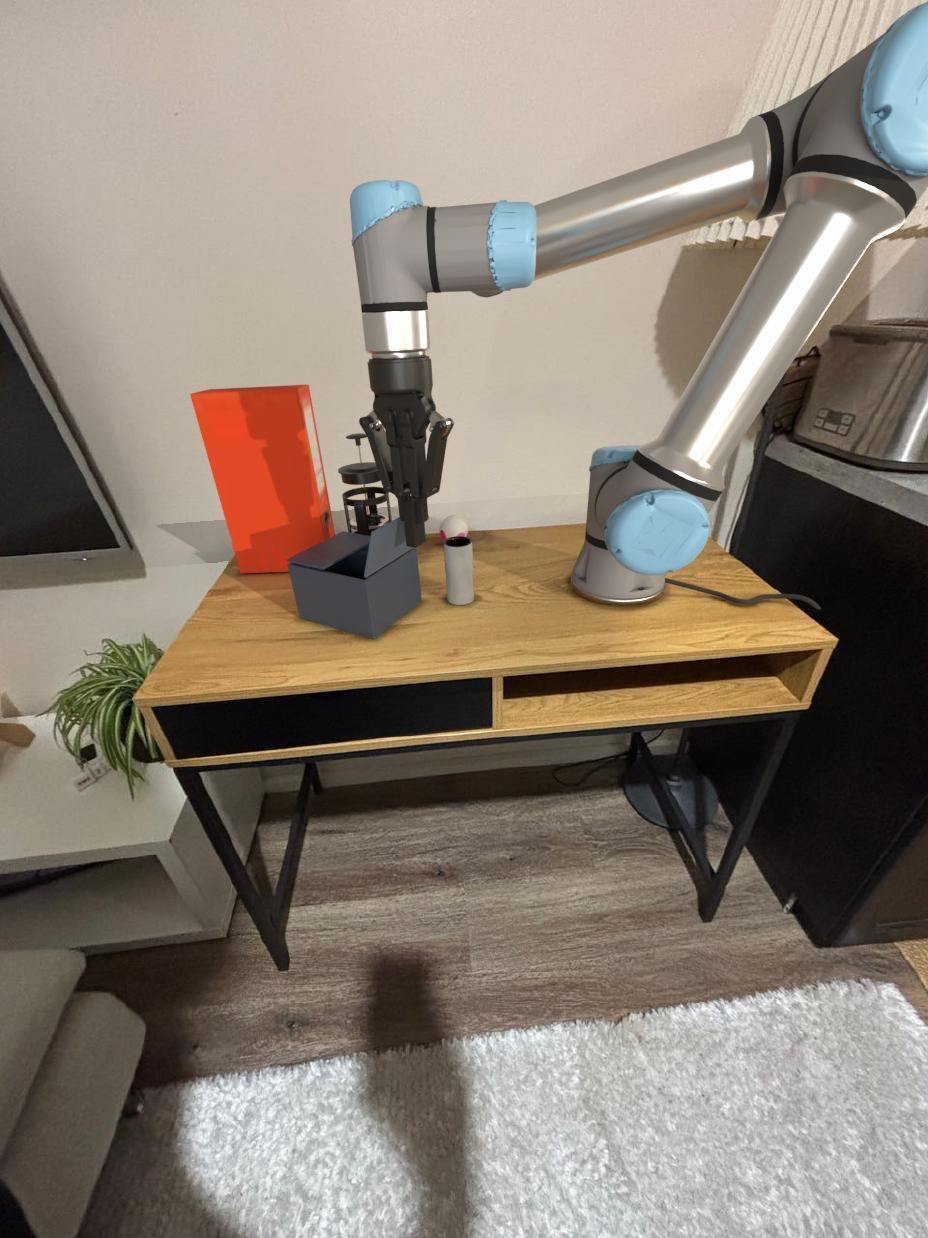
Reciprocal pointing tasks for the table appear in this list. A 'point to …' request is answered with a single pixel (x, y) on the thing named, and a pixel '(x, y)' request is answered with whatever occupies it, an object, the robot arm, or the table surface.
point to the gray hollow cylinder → (459, 570)
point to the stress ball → (453, 527)
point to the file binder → (266, 471)
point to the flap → (386, 546)
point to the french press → (363, 475)
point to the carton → (353, 586)
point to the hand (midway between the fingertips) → (416, 543)
